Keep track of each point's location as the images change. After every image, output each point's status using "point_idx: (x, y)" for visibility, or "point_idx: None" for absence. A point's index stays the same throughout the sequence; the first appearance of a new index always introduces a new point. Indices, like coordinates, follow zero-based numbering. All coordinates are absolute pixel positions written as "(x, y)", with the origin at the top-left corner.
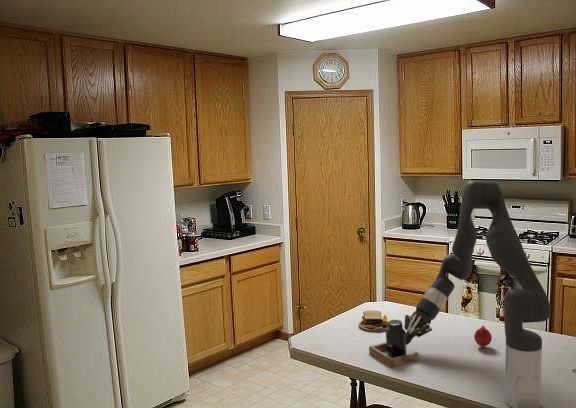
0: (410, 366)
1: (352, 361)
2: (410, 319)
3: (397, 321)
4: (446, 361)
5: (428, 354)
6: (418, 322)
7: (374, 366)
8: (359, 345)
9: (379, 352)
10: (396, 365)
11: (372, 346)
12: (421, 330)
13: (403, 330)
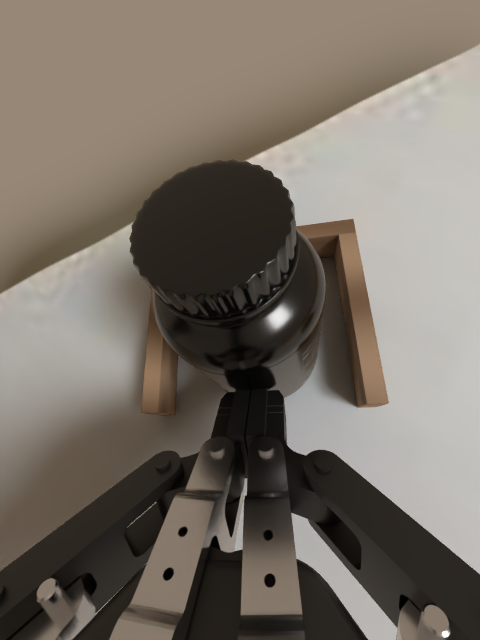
0: (130, 338)
1: (296, 156)
2: (399, 634)
3: (206, 250)
4: None
5: None
6: (140, 588)
7: None
8: (469, 238)
9: None
10: None
11: (343, 233)
12: (86, 512)
13: (173, 326)
